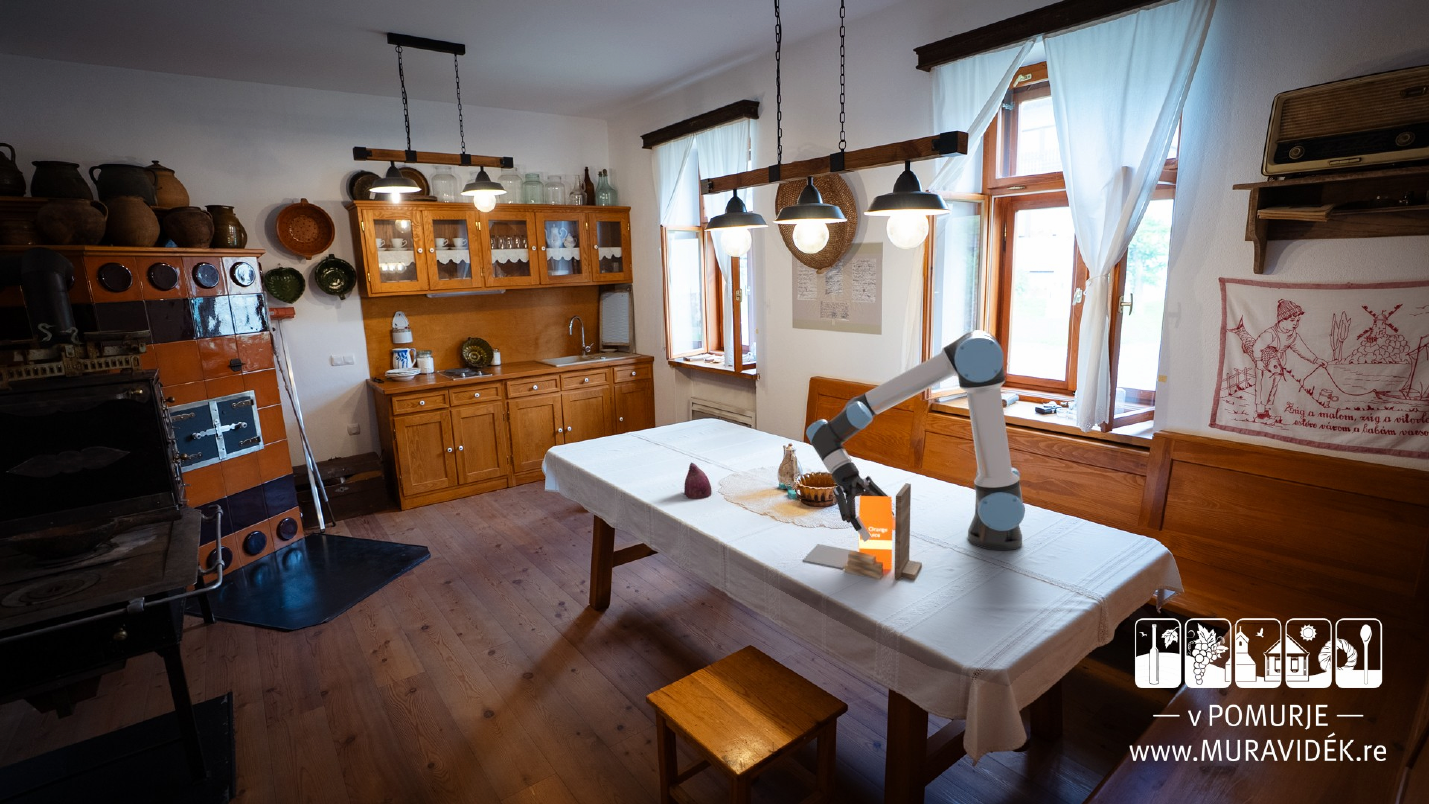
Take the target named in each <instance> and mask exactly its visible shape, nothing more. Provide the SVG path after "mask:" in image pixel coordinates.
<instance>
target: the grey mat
mask: <svg viewBox="0 0 1429 804" xmlns="http://www.w3.org/2000/svg"><path fill="white" fill-rule="evenodd" d="M851 551H852V549H847V548H842V547H836V546H831V545H826V544H825V545H824V544H819V543H818V544H816V545H815V546H814V547H813V549H811V551H810V552H809V553H807V555H806V556H805V557H804V558H803V559H802V561H803V562H804V563H810V564H814V565H818V566H820V565H821V566H824V567H829V568H830V567H831V568H834V569H838V570H839V569H840V570H844V566H845V565H846V564H847V562H848V554H849V553H850V552H851Z"/></svg>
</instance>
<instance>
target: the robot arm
mask: <svg viewBox="0 0 1429 804" xmlns="http://www.w3.org/2000/svg"><path fill="white" fill-rule="evenodd" d="M1004 358H1005V357H1004V352H1003V348H1002V346H1001V345H1000V344H999V342H998V340H997V338H996V337H995V336H994V335H993V334H991V333H989V332H988V331H985V330H972V331H969V332H967V333H965V334H963V335H961V336H960V337H959V338H957V339H955V340H954V341H953V342H951V343H949V344H948V345H946V346H944V347H942V349H941V351H940V353H938V354H937V355H934V356H933V357H930V358H929V359H927V360H925V361H923V362H921V363H920V364H917V365H916V366H914V367H912V368H910V369H908V370H906V371H905V372H902V373H901V374H899V375H897V376H895V377H893V378H892V379H889V380H887V381H885V382H883V383H881V384H880V385H877V386H876V387H874V388H873V389H870V390H868V391H866V392H864V393H863V394H861V395H859V396H854V397H853V398H851V399H850V400H848V401H847V402H846V404H845V406H844V407H843V409H842V410H841V412H840V413H838V414H837V415H836V416H834V417H833V418H832V419H831V420H829V421H827V419H824V418H822V419H818V420H817V421H816V420H815V422H812V423H811V424H810V425H809V426H808V427H807V429H806V432H805V433H806V436H807V438H808V441H810V444H811V446H812V447H813V449H814V450H815V452H816V453H817V455H818V456H819V458H820V460H821V462H822V463H823V464H824V467H825V468H826V469H827V471H828V472H829V474H831V478H832V480H833V482H835V483H834V484H837V485H838V486H837V487H836V488H835V489H834V490H833V493H834V495H835V496H836V497H835V499H836V502H837V506H838V510H839V514H840V517H841V520H842V521H843V522H846V523H848V524H851V525H852V527H853V528H854V530H855V531H856V532H858V535H859V534H860V536H861V537H862V539H863V541H864V542H866V541H867V540H868V539H870V538H871V535H870V534H869V532H868V530H867V529H866V527H865V526H864V524H863V522H862V521H861V519H860V517H859V515H858V516H857V512H856V497H860V496H885V497H889V496H888V494H886V493H885V491H883V490H882V488H880V487H879V486H878V485H877V484H876V483H875V482H874V480H873V479H872V477H871V476H869V475H867V476H866V477H865V478H862V477H861V476H860V471H859V469H858V468H857V466H856V465H855V463H854V462H853V460H852V458H851V456H850V455H849V454H848V451H846V449H845V447H844V446H843V444H844V443H846V441H848V440H849V439H851V438H852V437H853V436H855V435H856V434H857V433H859V432H860V431H861V430H863V429H866V427H867V426H868V425H869V424H871V423H872V422H873V420H874V419H873V418H874V417H875V416H877V415H879V414H881V413H882V412H884V411H887V410H889V409H891V408H892V407H894V406H896V405H899V404H901V403H903V402H904V401H906V400H909V399H911V398H912V397H914V396H917V395H918V394H920V393H922V392H924V391H926V390H928V389H930V388H932V387H934V386H936V385H939V384H940V383H942V382H944V381H946V380H948V379H950V378H952V377H958V378H957V379H958V384H959V388H960V389H961V390H963V391H964V392H965V393H966V397H967V404H968V412H969V419H970V424H971V431H972V432H971V433H972V438H973V445H974V451H975V458H976V466H977V469H976V475H975V478H974V480H973V483H974V492H975V504H974V505H975V508H974V509H975V510H974V515H973V518H972V520H971V523H970V525H969V527H968V530H967V539H968V541H969V542H971V544H974V545H975V546H976V547H977V546H978V547H980V548H982V549H986V550H991V551H992V550H993V551H1012V550H1015V549H1019V548H1020V547H1022V545H1023V533H1022V530H1021V527H1020V524H1021V523H1022V521H1023V519H1024V518H1025V512H1026V507H1025V504H1024V502H1023V495H1022V489H1021V482H1020V479H1021V477H1020V471H1019V470H1018V469H1017V468H1015V467H1012V462H1011V455H1010V448H1009V441H1008V440H1009V439H1008V434H1007V427H1006V425H1007V424H1006V418H1005V411H1004V405H1003V397H1002V390H1001V388H1002V386H1003V384H1004V383H1006V375H1005V374H1006V373H1005V368H1004V367H1005V366H1004V360H1005V359H1004ZM892 531H895V513H894V512H893V510H892Z"/></svg>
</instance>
